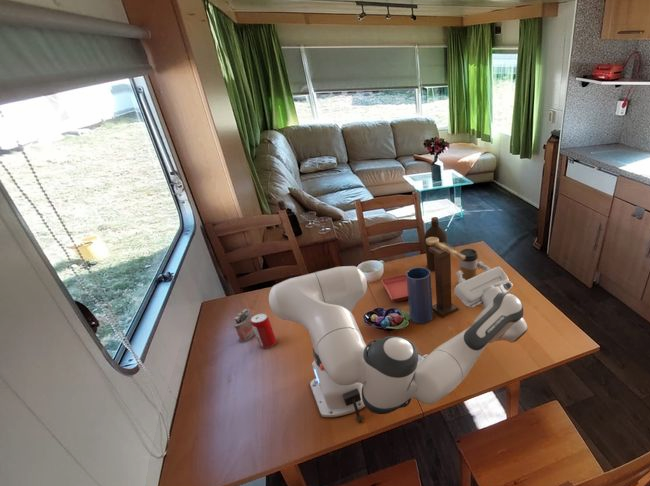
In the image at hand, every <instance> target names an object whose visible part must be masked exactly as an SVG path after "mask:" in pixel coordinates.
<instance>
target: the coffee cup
mask: <svg viewBox="0 0 650 486" xmlns="http://www.w3.org/2000/svg"><path fill="white" fill-rule="evenodd" d="M459 253H461V254H463V255H465V256H466V259H464V260H461V259H459V271H460V270H461V271H462V272H463V273H464V274H463V275H462V278H463V279H465V280H468V279H471V278H473V277H475V276H477V271H478V266H477V263H478V259H479V256H478V255H479V254H478V252H477V250H476V249H474V248H464V249H462V250H460V252H459Z"/></svg>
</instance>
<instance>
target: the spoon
mask: <svg viewBox="0 0 650 486" xmlns="http://www.w3.org/2000/svg"><path fill="white" fill-rule="evenodd" d="M426 244H427V245H435V246H437V247H439V248H441V249H442V250H444V251H446V252H448V253H450V256H451V255H452V256H453V257H455V258H457V259H459V260H460V259H461V260H464V259H466V256H465V255H463V254H461V253H460V252H459V251H457V250H456V249H455V250H453V249H451V248H450V247H448V246H446V245H444V244H442V243H440V242H439V239H438V238H437V237H429V238H427V239H426Z"/></svg>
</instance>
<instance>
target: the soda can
mask: <svg viewBox="0 0 650 486" xmlns="http://www.w3.org/2000/svg"><path fill="white" fill-rule="evenodd" d="M251 323H252V327H253V329H254V332H255V334H254V335H255V337H256V339H257V343H258V346H259V347H260V348H262V349H269V348H272V347H274V345H275V344H276V343H277V338H276V335H275V333H274V330H273V327H272V324H271V321H270V319H269V317H268V316H267V314H266V313H258V314H255V315H253V316H252V319H251Z"/></svg>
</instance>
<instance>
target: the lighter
mask: <svg viewBox="0 0 650 486" xmlns="http://www.w3.org/2000/svg"><path fill="white" fill-rule="evenodd" d="M253 316H254V315H253V313H252V312H250V310H249V309H248V308H245V309H243V310H242V311H241V312H240V313H239V312H238V313H237V315H236V316H235V317H234V323H233V324H232V325H233V327H234V328H235V331H236V334H237V336H238V339H239V342H241V343H245V342H247V341H248V340H250V339H251V338H253V337H254V336H255V335H256V334H255V332H254V329H253V327H252V323H251V319H252V317H253Z"/></svg>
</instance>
